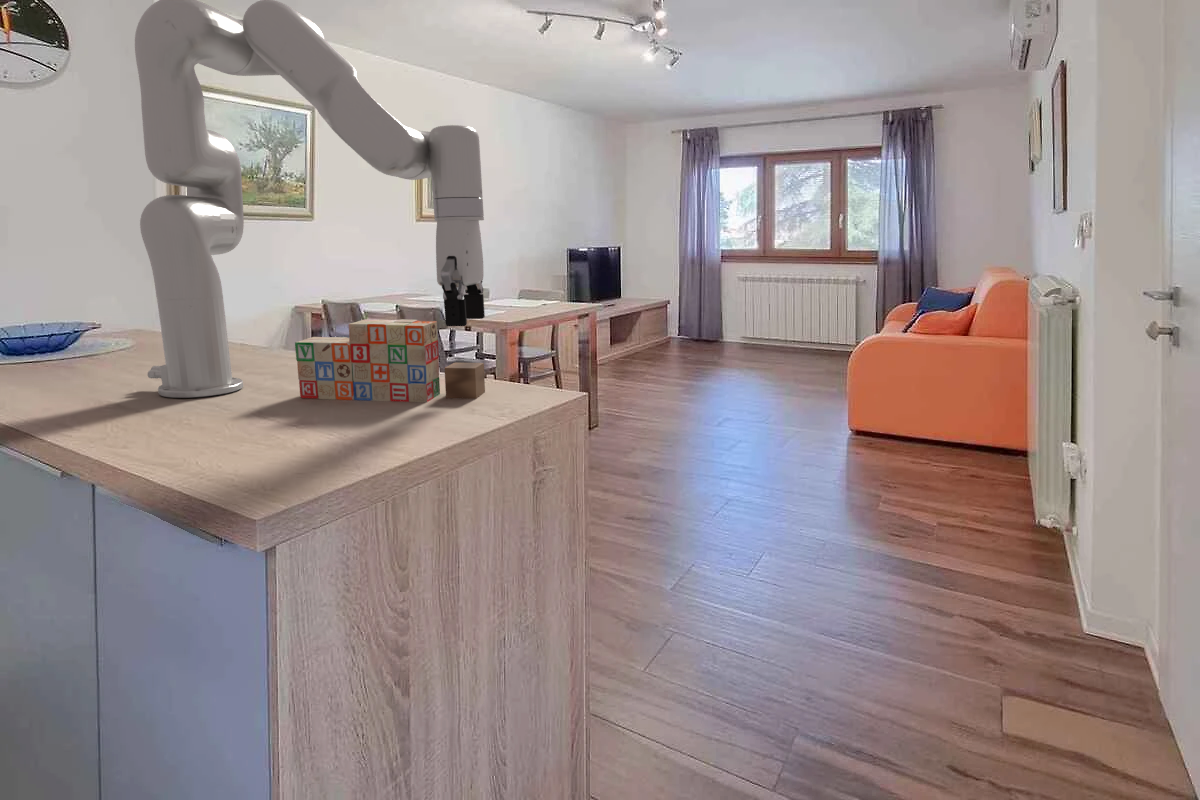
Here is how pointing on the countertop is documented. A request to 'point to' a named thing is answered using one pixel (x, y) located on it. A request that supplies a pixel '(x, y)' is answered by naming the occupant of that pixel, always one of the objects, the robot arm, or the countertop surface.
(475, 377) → the walnut cube
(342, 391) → the stack of blocks
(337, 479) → the countertop surface
